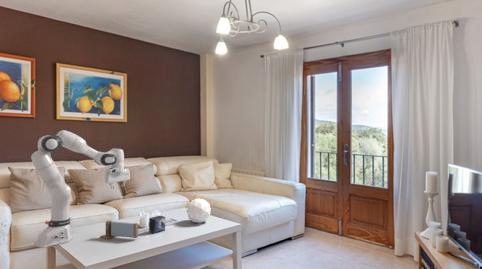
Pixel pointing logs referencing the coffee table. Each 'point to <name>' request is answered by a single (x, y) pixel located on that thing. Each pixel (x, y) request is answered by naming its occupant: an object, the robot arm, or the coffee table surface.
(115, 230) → the gate
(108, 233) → the gate post
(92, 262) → the coffee table surface
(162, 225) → the small box
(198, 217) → the geometric orb
